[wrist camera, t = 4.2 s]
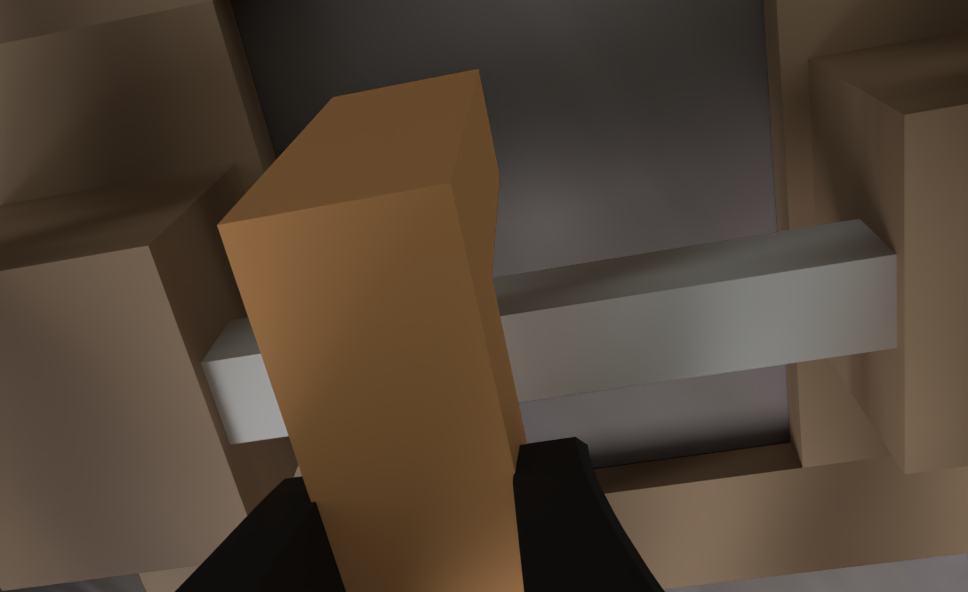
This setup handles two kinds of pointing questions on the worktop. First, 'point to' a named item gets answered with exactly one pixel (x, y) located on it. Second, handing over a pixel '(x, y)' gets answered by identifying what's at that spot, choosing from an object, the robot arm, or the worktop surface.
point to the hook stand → (521, 301)
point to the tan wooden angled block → (390, 333)
